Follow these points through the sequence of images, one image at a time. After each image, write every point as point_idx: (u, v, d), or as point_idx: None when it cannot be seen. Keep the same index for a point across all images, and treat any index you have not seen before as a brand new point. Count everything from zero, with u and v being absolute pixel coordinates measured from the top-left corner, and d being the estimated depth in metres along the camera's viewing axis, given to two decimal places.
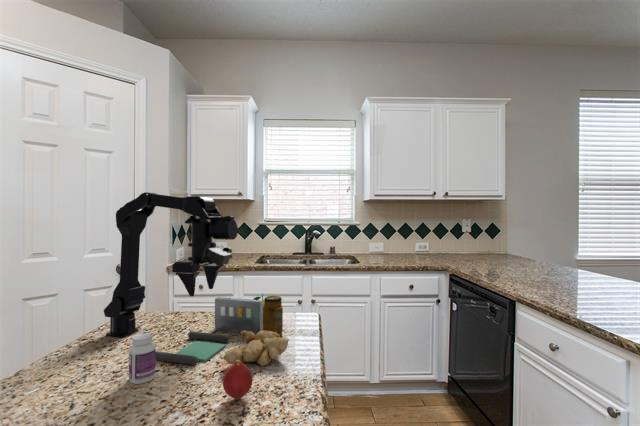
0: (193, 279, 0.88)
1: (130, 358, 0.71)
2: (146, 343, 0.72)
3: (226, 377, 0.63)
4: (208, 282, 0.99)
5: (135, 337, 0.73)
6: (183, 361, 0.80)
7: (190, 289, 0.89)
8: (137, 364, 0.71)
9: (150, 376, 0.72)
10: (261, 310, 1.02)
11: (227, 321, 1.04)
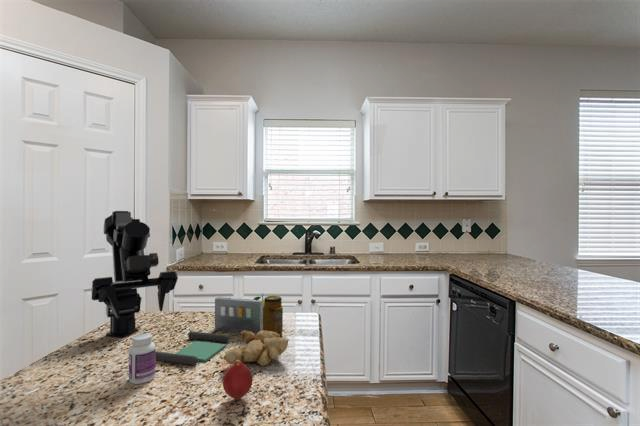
0: (110, 296, 0.76)
1: (130, 358, 0.71)
2: (146, 343, 0.72)
3: (226, 377, 0.63)
4: (159, 305, 0.82)
5: (135, 337, 0.73)
6: (183, 361, 0.80)
7: (113, 310, 0.76)
8: (137, 364, 0.71)
9: (150, 376, 0.72)
10: (261, 310, 1.02)
11: (227, 321, 1.04)
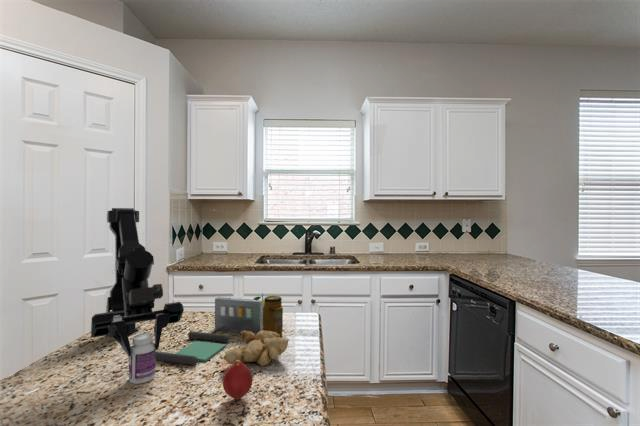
0: (121, 332, 0.71)
1: (130, 358, 0.71)
2: (146, 343, 0.72)
3: (226, 377, 0.63)
4: (155, 342, 0.75)
5: (135, 337, 0.73)
6: (183, 361, 0.80)
7: (124, 347, 0.71)
8: (138, 364, 0.71)
9: (150, 376, 0.72)
10: (261, 310, 1.02)
11: (227, 321, 1.04)
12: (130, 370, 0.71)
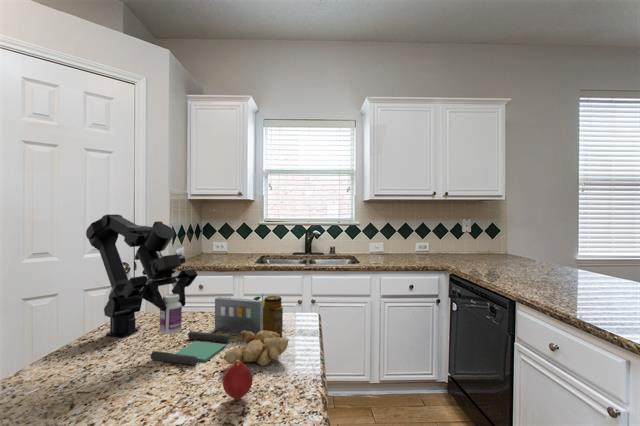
0: (155, 292, 0.84)
1: (164, 313, 0.85)
2: (176, 300, 0.86)
3: (226, 377, 0.63)
4: (179, 301, 0.89)
5: (165, 296, 0.86)
6: (183, 361, 0.80)
7: (159, 304, 0.84)
8: (171, 317, 0.85)
9: (180, 327, 0.87)
10: (261, 310, 1.02)
11: (227, 321, 1.04)
12: (163, 323, 0.85)
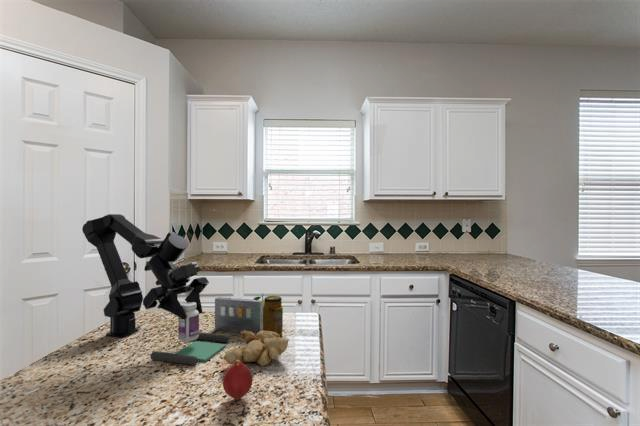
0: (175, 301, 0.86)
1: (183, 321, 0.87)
2: (195, 308, 0.89)
3: (226, 377, 0.63)
4: None
5: (184, 304, 0.89)
6: (183, 361, 0.80)
7: (179, 312, 0.86)
8: (191, 324, 0.88)
9: (198, 334, 0.90)
10: (261, 310, 1.02)
11: (227, 321, 1.04)
12: (183, 331, 0.87)
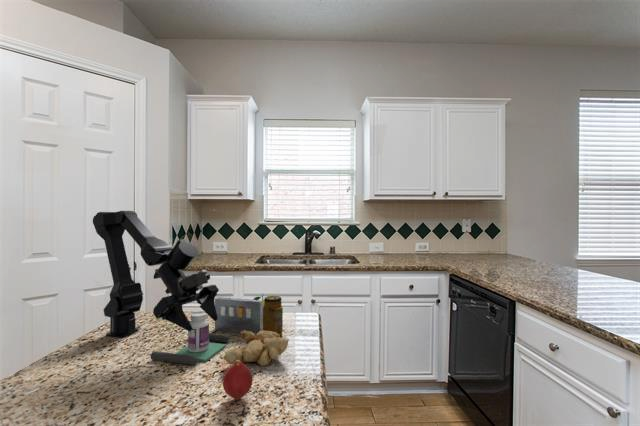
0: (180, 312, 0.83)
1: (194, 332, 0.86)
2: (205, 318, 0.88)
3: (226, 377, 0.63)
4: (210, 315, 0.92)
5: (194, 315, 0.87)
6: (183, 361, 0.80)
7: (184, 324, 0.83)
8: (201, 335, 0.86)
9: (208, 344, 0.88)
10: (261, 310, 1.02)
11: (227, 321, 1.04)
12: (193, 342, 0.86)
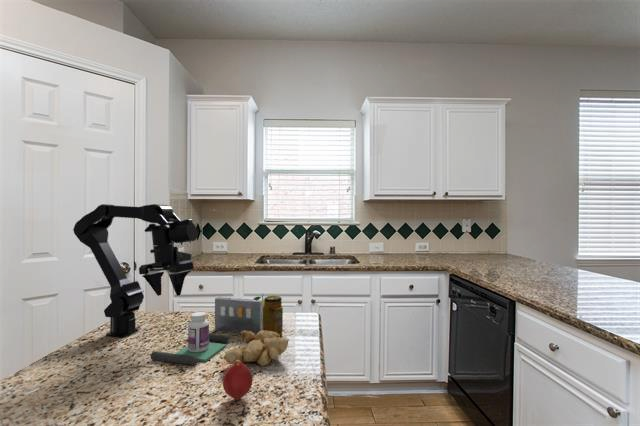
0: None
1: (194, 332, 0.86)
2: (205, 318, 0.88)
3: (226, 377, 0.63)
4: (156, 289, 1.00)
5: (194, 315, 0.87)
6: (183, 361, 0.80)
7: (180, 288, 0.97)
8: (201, 335, 0.86)
9: (208, 344, 0.88)
10: (261, 310, 1.02)
11: (227, 321, 1.04)
12: (193, 342, 0.86)
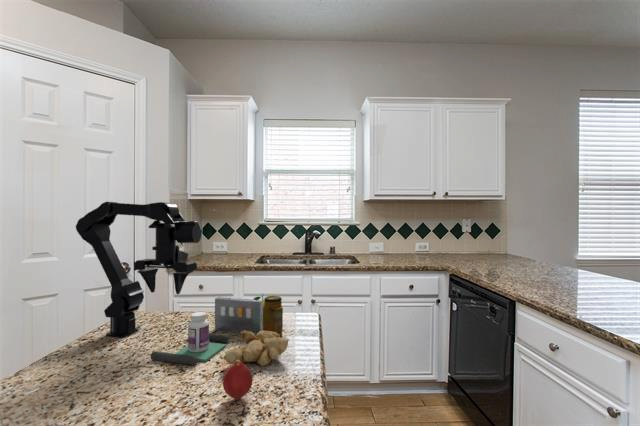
0: None
1: (194, 332, 0.86)
2: (205, 318, 0.88)
3: (226, 377, 0.63)
4: (151, 286, 1.00)
5: (194, 315, 0.87)
6: (183, 361, 0.80)
7: (180, 287, 0.99)
8: (201, 335, 0.86)
9: (208, 344, 0.88)
10: (261, 310, 1.02)
11: (227, 321, 1.04)
12: (193, 342, 0.86)
